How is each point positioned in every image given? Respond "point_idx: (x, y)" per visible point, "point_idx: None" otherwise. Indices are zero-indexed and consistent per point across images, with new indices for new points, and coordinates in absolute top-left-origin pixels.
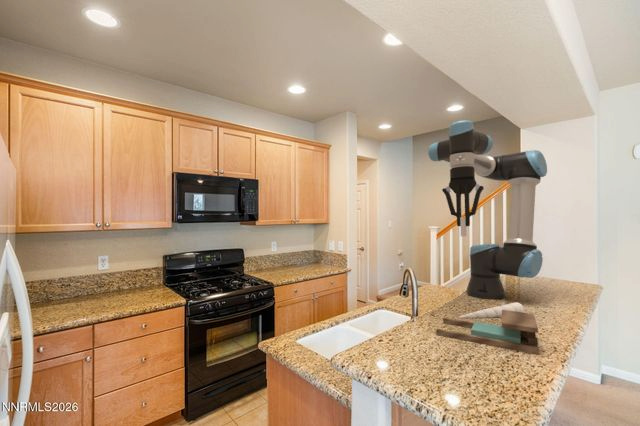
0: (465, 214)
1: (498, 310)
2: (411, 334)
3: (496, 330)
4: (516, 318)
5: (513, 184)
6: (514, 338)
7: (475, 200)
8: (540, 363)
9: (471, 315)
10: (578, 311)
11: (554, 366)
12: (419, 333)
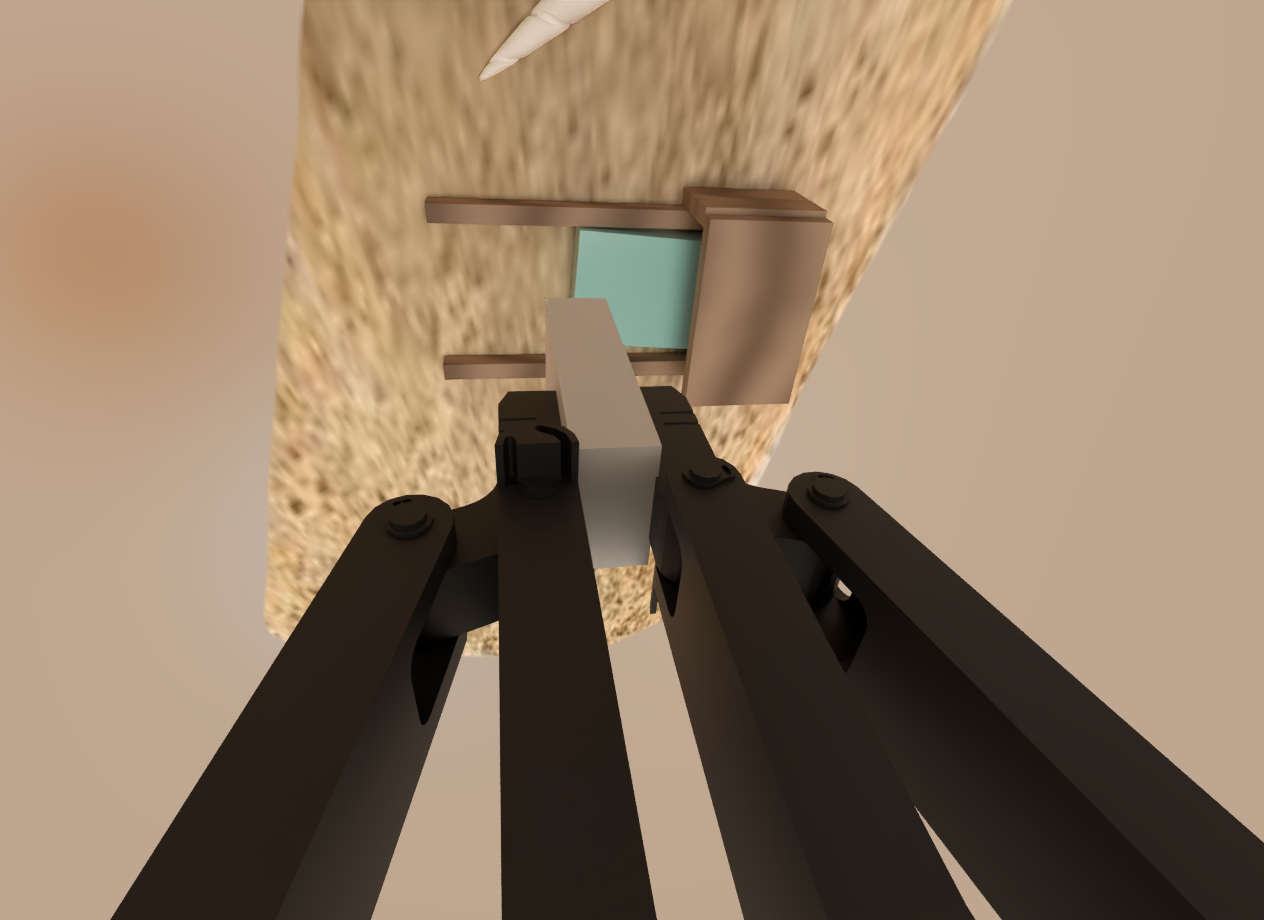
0: (663, 592)
1: None
2: (361, 412)
3: (660, 304)
4: (746, 328)
5: None
6: None
7: (979, 843)
8: (746, 417)
9: (547, 41)
10: None
11: (774, 417)
12: (383, 388)
